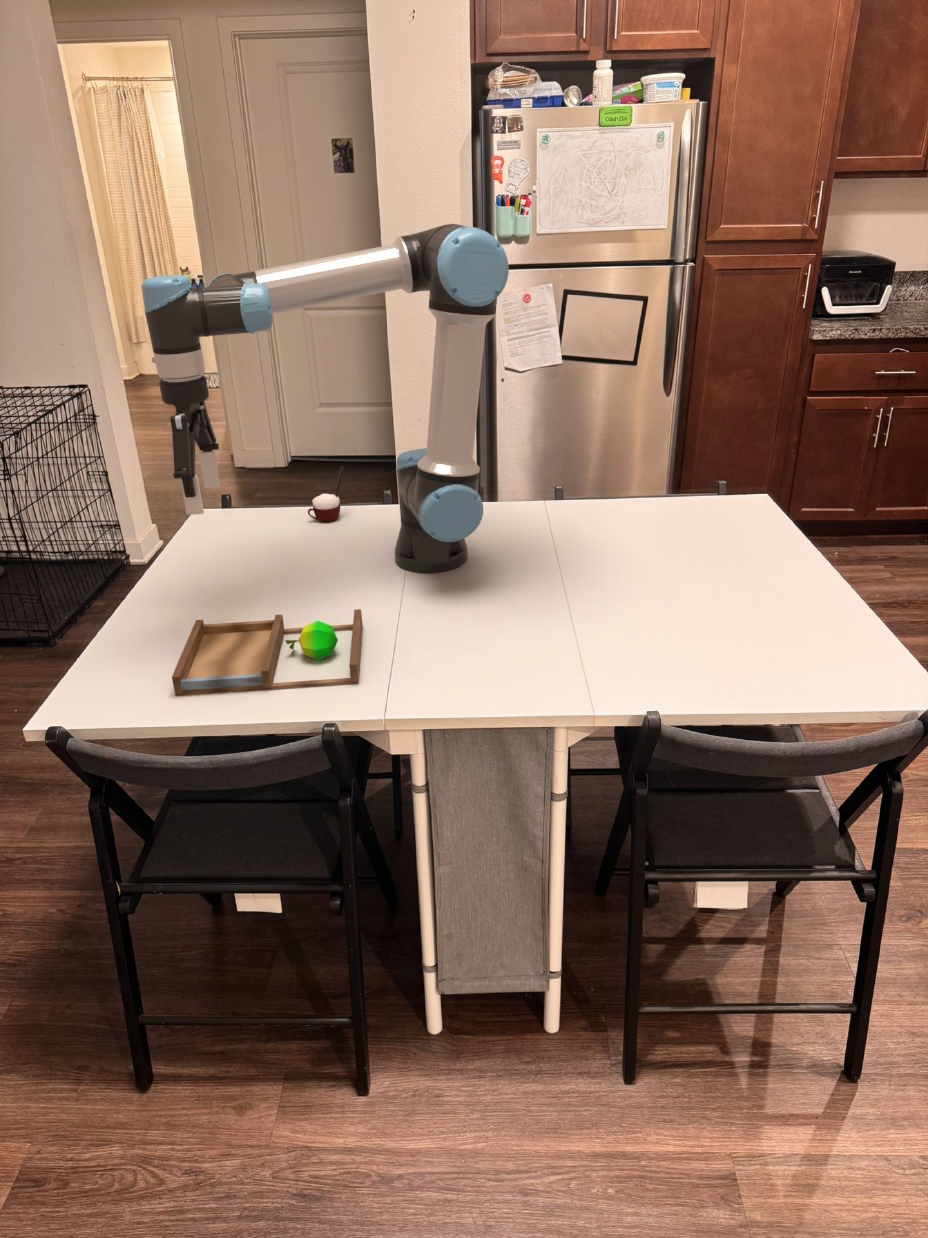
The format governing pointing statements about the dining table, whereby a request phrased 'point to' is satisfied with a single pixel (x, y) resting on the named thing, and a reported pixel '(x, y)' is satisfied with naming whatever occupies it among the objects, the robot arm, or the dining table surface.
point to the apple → (316, 640)
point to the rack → (247, 657)
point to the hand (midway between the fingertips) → (204, 500)
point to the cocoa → (327, 504)
